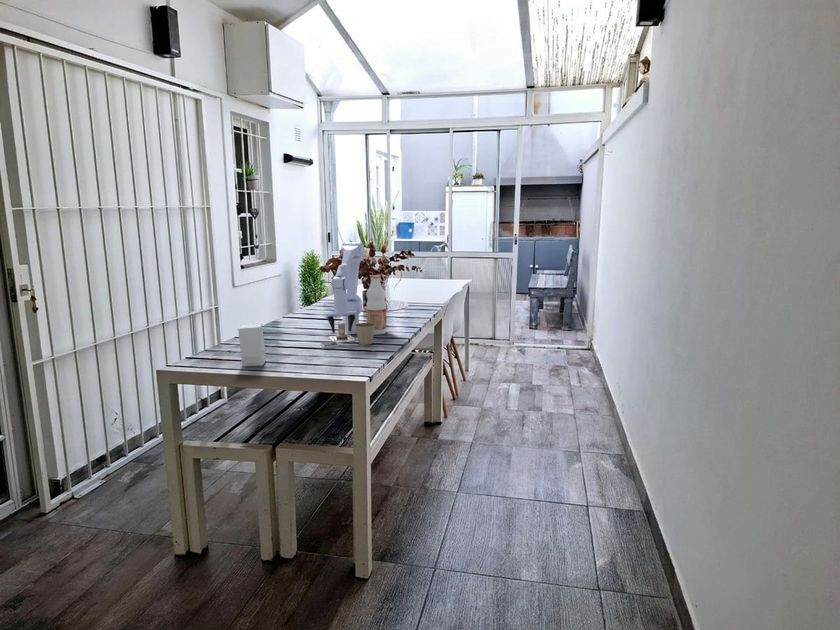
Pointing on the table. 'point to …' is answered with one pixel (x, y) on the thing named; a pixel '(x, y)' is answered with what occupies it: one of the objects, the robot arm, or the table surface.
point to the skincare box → (252, 345)
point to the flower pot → (365, 333)
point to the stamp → (341, 332)
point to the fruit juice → (376, 305)
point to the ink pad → (329, 344)
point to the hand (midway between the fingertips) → (341, 331)
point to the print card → (350, 339)
